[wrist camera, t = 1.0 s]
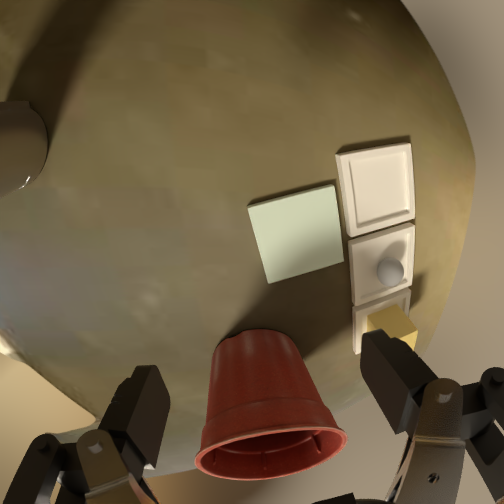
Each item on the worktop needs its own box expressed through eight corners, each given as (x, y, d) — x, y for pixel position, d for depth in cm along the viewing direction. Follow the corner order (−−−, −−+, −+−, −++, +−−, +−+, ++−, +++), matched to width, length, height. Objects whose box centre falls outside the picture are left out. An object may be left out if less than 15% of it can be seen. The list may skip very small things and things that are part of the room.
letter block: (366, 315, 35) (385, 344, 30) (397, 303, 35) (418, 329, 30) (366, 339, 38) (382, 367, 32) (394, 327, 37) (413, 353, 32)
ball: (371, 257, 31) (385, 271, 28) (394, 249, 31) (410, 262, 28) (372, 280, 33) (384, 296, 30) (394, 272, 33) (408, 286, 30)
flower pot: (325, 365, 40) (358, 451, 26) (233, 401, 42) (242, 486, 27) (286, 293, 33) (327, 407, 18) (173, 344, 35) (161, 453, 20)
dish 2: (347, 240, 30) (351, 245, 29) (409, 222, 30) (414, 225, 29) (351, 301, 34) (355, 306, 33) (407, 280, 34) (411, 285, 33)
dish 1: (335, 154, 26) (339, 155, 25) (404, 142, 26) (410, 143, 25) (346, 233, 30) (350, 237, 29) (409, 214, 30) (414, 218, 29)
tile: (246, 205, 27) (247, 208, 27) (331, 184, 27) (334, 185, 27) (267, 279, 31) (268, 283, 31) (341, 258, 31) (343, 261, 31)
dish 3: (352, 306, 35) (355, 312, 34) (406, 286, 35) (411, 290, 34) (352, 349, 39) (355, 354, 38) (401, 329, 39) (405, 334, 38)
